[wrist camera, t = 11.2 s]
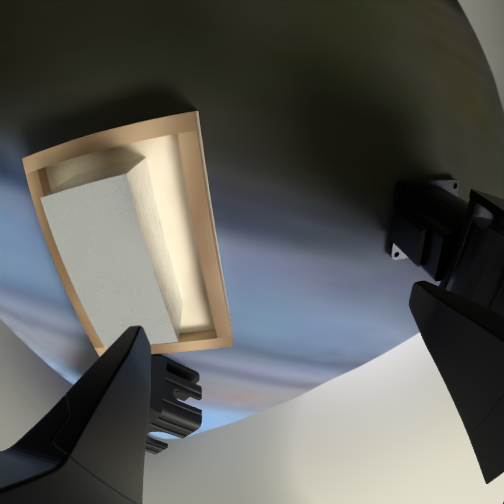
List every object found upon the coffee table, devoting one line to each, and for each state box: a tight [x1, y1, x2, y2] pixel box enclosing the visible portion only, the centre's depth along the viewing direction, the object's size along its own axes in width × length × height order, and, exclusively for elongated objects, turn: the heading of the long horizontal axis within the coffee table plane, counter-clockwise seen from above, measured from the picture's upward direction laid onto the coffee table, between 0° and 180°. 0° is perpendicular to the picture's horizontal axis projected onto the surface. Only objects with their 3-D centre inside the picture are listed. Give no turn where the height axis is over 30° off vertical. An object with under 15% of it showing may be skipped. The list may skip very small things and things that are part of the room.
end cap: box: [145, 355, 202, 454], centre depth 24 cm, size 10×7×7 cm
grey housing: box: [40, 158, 183, 348], centre depth 16 cm, size 10×5×4 cm, turn 7°
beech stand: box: [22, 111, 233, 357], centre depth 19 cm, size 11×16×3 cm
